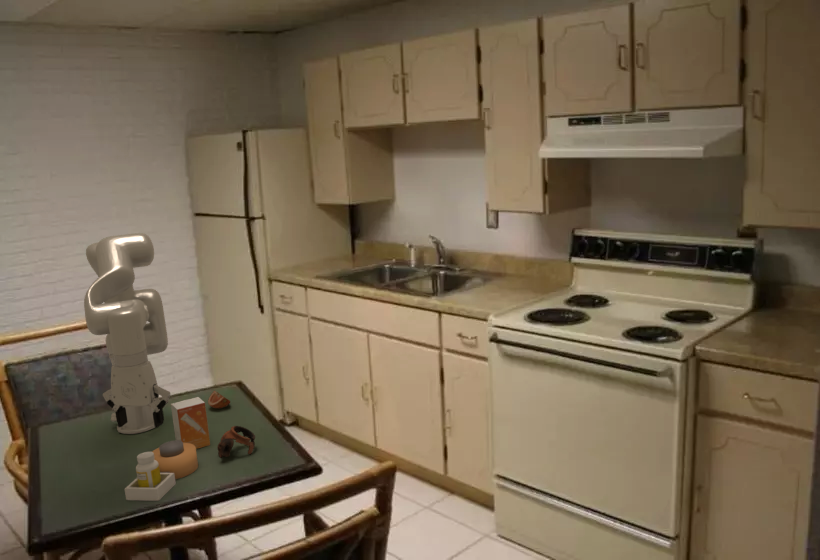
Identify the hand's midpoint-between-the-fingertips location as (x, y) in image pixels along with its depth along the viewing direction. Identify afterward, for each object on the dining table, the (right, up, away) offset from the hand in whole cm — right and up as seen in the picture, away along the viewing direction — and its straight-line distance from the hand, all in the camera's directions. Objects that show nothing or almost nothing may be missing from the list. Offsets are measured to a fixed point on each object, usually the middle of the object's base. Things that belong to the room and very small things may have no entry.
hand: (141, 425), depth 179 cm
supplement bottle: (+1, -17, +3) cm, 18 cm away
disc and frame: (+2, -16, +9) cm, 18 cm away
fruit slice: (+4, -6, +58) cm, 59 cm away
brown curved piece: (+18, -13, +22) cm, 31 cm away
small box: (+4, -12, +29) cm, 32 cm away
